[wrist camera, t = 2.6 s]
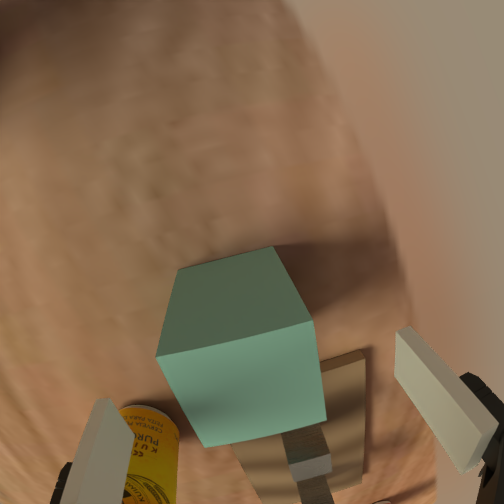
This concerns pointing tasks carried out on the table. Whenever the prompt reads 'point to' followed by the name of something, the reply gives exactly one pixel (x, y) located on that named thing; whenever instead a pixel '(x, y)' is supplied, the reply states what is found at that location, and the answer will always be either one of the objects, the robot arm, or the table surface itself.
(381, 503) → the pill bottle
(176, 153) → the table surface
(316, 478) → the tall post
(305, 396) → the mint green toy brick
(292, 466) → the short post
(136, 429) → the beer can
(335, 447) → the board
